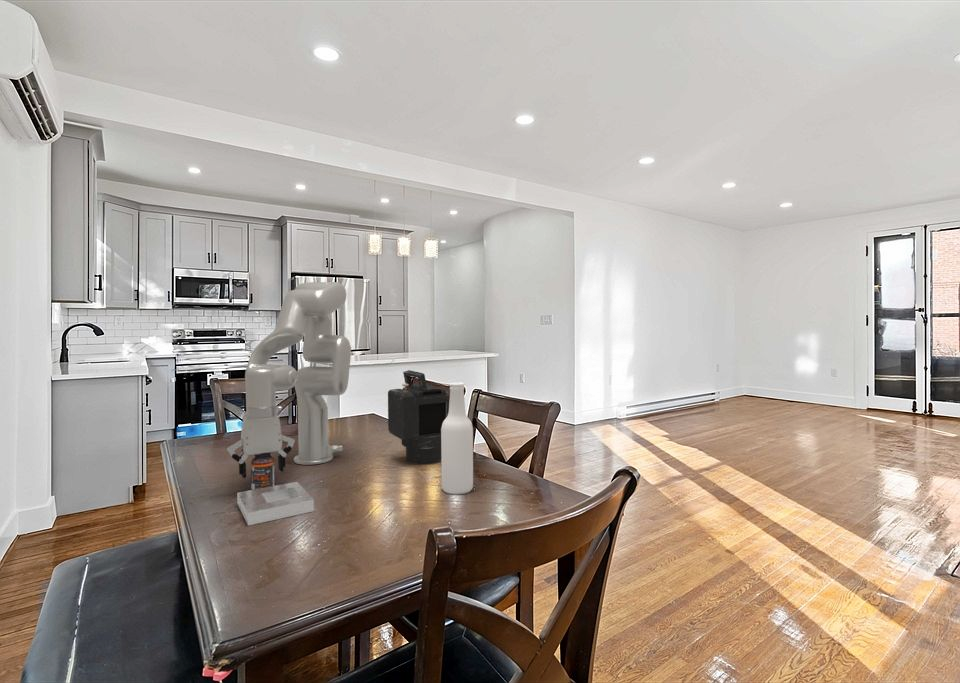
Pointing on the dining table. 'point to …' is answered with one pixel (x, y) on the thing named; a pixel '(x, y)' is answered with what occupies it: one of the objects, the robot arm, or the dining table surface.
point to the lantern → (418, 418)
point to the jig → (274, 503)
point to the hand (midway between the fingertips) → (262, 473)
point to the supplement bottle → (262, 471)
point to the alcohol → (457, 445)
